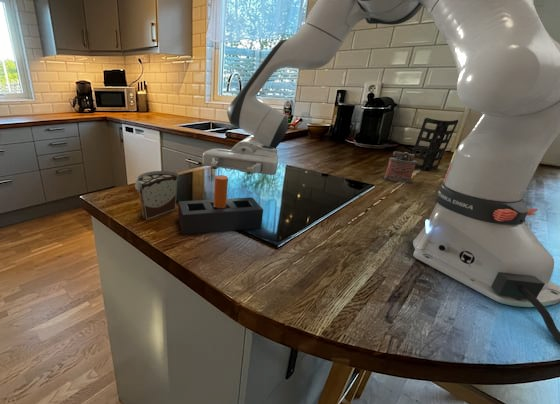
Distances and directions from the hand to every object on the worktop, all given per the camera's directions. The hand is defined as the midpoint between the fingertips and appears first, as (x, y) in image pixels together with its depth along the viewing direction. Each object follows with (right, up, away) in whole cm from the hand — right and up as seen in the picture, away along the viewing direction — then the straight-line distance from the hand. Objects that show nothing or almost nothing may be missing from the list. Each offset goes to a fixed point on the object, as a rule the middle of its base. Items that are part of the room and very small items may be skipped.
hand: (231, 168), depth 74 cm
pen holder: (-3, -14, -1) cm, 14 cm away
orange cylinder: (-3, -14, -1) cm, 14 cm away
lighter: (+63, 0, +33) cm, 71 cm away
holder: (+83, +5, +47) cm, 96 cm away
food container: (-20, -11, +5) cm, 23 cm away
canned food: (+82, -3, +27) cm, 86 cm away
